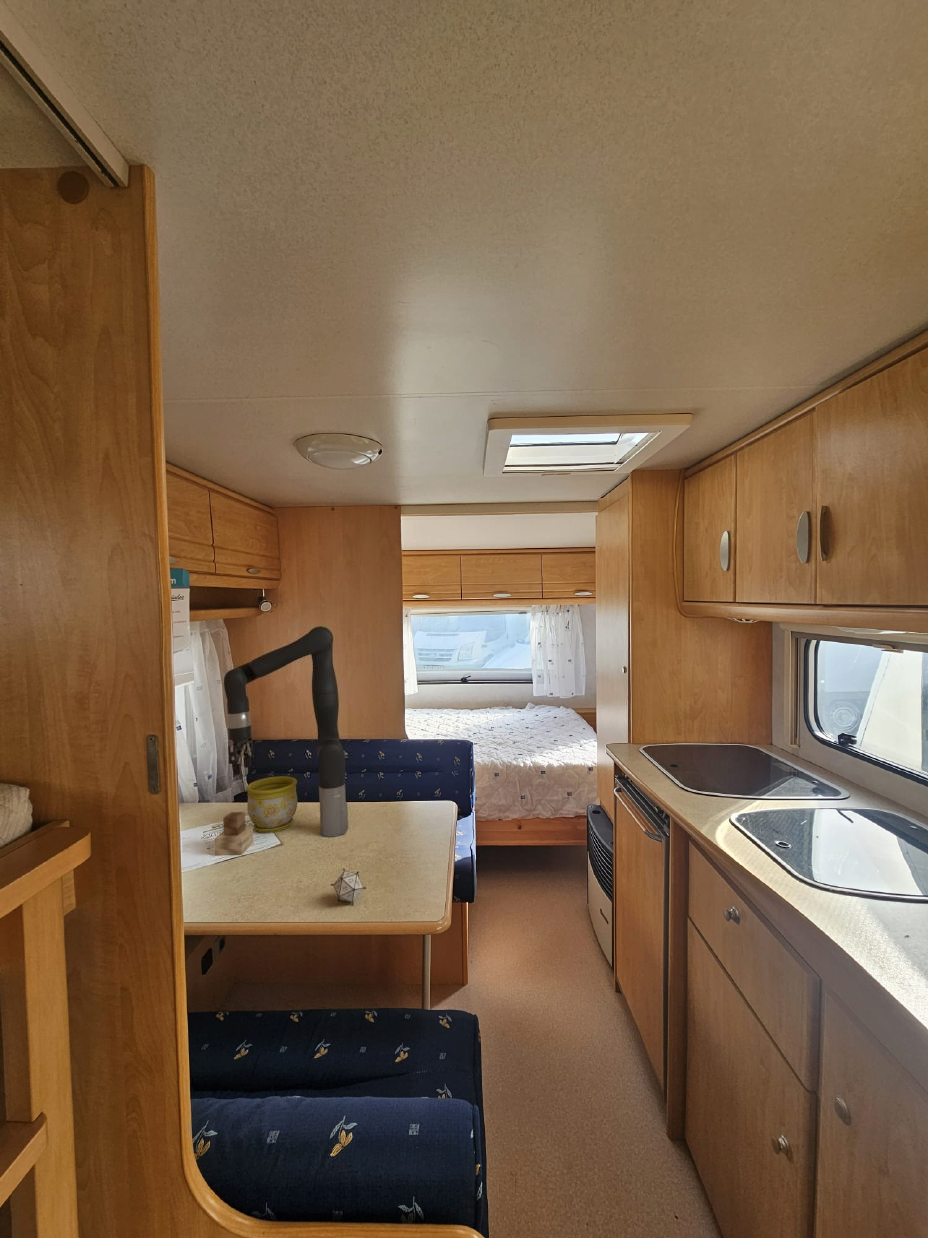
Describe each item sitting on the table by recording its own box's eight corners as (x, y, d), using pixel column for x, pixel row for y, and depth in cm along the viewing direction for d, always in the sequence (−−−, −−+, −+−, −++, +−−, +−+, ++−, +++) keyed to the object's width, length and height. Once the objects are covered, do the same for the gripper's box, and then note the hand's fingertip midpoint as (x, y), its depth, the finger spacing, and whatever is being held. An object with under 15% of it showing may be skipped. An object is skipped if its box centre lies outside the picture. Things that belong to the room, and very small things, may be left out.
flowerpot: (280, 814, 210) (278, 773, 210) (308, 823, 200) (306, 780, 200) (238, 830, 196) (236, 786, 196) (266, 840, 185) (264, 794, 185)
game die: (344, 912, 144) (334, 875, 149) (372, 899, 145) (362, 862, 150) (332, 912, 136) (323, 873, 141) (363, 898, 137) (352, 860, 142)
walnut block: (245, 829, 181) (244, 812, 181) (237, 835, 176) (237, 817, 176) (232, 829, 182) (231, 812, 182) (223, 835, 177) (223, 817, 177)
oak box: (253, 844, 183) (252, 827, 183) (241, 855, 174) (241, 837, 174) (228, 844, 183) (227, 827, 183) (215, 856, 174) (214, 838, 174)
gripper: (241, 729, 176) (244, 776, 176) (258, 720, 190) (261, 764, 190) (219, 730, 176) (222, 778, 176) (237, 721, 190) (240, 765, 190)
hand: (242, 771), depth 183 cm, fingers open, 8 cm apart
